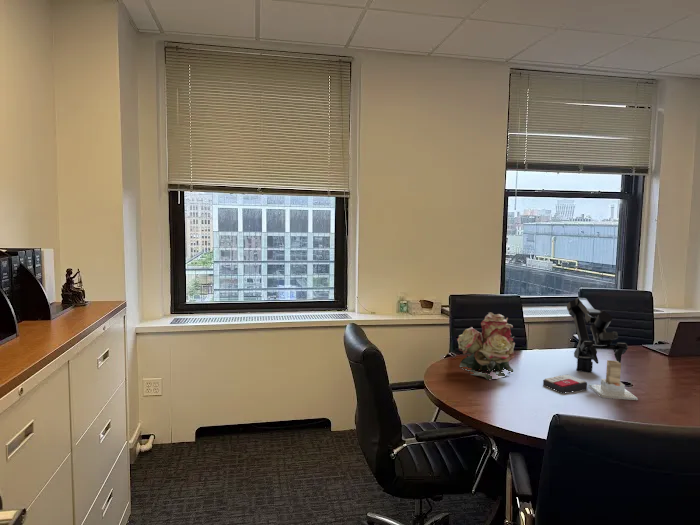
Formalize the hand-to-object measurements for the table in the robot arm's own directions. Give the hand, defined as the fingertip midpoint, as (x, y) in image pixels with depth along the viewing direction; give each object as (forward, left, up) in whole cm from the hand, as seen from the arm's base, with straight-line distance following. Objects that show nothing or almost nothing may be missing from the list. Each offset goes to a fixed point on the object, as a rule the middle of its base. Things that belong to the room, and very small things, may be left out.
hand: (608, 363), depth 195 cm
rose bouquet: (-51, -5, -12) cm, 53 cm away
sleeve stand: (+2, -5, -12) cm, 13 cm away
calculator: (-17, -8, -12) cm, 22 cm away
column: (+2, -5, -10) cm, 12 cm away
